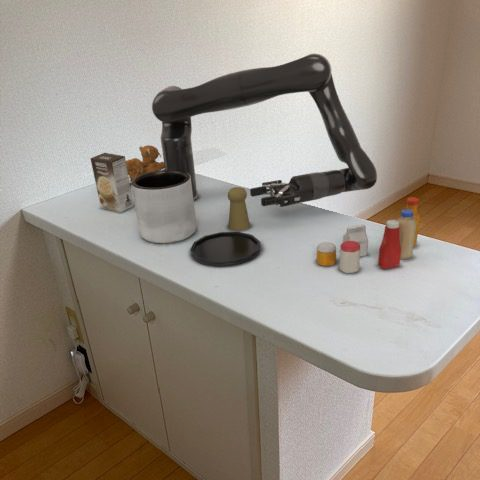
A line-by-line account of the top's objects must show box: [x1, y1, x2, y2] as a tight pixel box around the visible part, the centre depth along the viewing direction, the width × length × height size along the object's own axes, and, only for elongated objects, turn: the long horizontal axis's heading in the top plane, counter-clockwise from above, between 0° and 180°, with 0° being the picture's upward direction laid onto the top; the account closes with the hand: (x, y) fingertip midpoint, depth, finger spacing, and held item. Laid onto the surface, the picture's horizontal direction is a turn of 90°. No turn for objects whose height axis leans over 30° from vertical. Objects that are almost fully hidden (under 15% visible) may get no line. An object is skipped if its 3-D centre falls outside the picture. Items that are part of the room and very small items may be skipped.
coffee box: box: [90, 152, 134, 213], centre depth 160 cm, size 9×6×16 cm
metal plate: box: [190, 231, 262, 268], centre depth 133 cm, size 18×18×1 cm
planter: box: [130, 169, 198, 244], centre depth 140 cm, size 16×16×16 cm
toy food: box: [316, 196, 421, 274], centre depth 121 cm, size 27×13×12 cm, turn 104°
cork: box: [227, 186, 251, 232], centre depth 143 cm, size 6×6×11 cm
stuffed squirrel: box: [126, 144, 165, 183], centre depth 177 cm, size 10×14×13 cm
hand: (256, 197), depth 142 cm, fingers open, 8 cm apart
